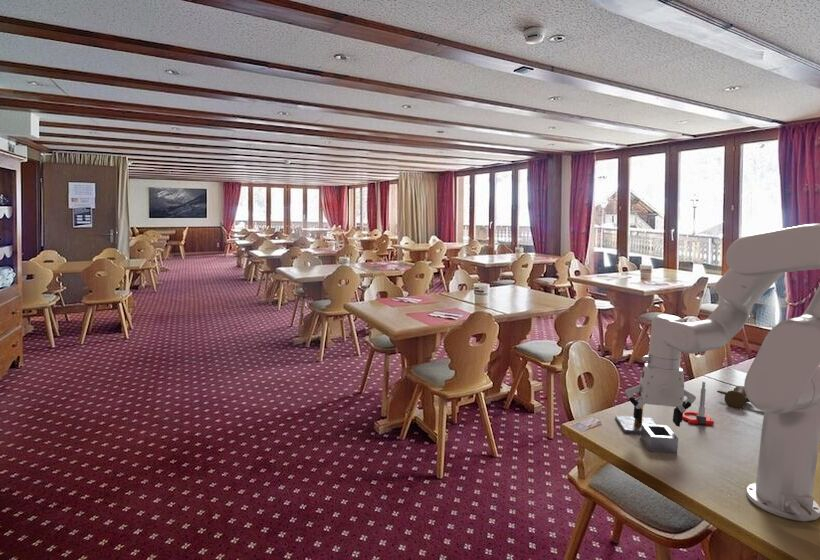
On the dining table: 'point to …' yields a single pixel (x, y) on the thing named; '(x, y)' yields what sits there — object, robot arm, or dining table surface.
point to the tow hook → (700, 416)
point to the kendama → (735, 397)
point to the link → (659, 438)
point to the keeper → (632, 423)
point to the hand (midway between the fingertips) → (656, 422)
